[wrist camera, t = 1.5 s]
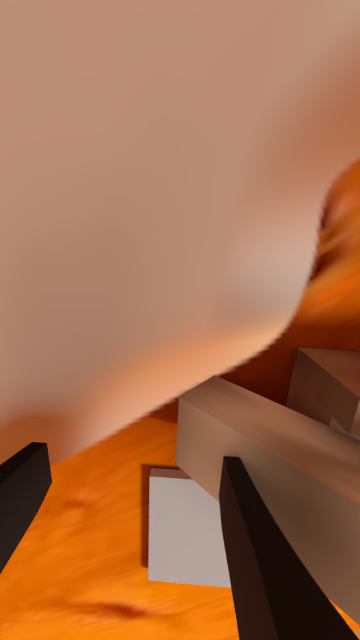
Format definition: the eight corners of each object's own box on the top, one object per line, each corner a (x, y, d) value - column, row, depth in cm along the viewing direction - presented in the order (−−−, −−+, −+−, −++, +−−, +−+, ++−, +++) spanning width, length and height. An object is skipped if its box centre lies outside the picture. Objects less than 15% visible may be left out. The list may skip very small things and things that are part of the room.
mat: (401, 486, 14) (410, 496, 14) (360, 587, 17) (366, 599, 16) (151, 467, 15) (149, 476, 14) (149, 569, 17) (148, 580, 17)
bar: (667, 577, 5) (885, 819, 3) (575, 676, 6) (678, 905, 4) (214, 375, 13) (178, 397, 11) (209, 433, 14) (175, 464, 12)
